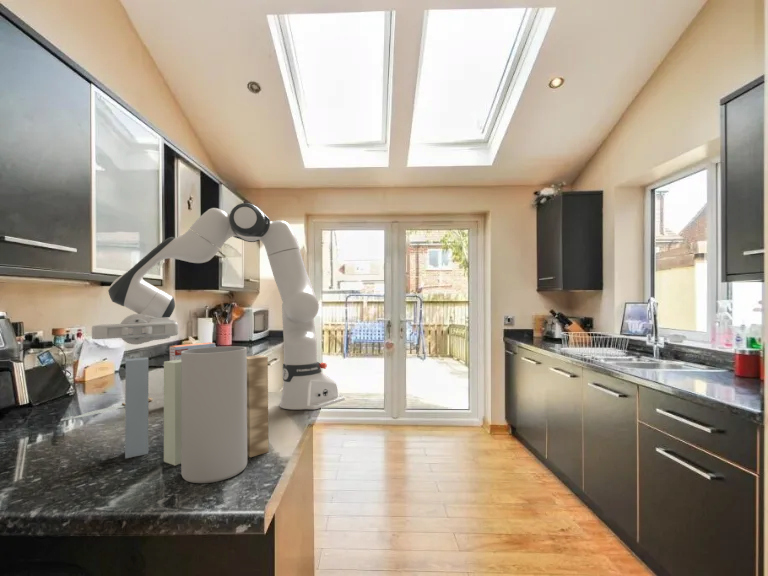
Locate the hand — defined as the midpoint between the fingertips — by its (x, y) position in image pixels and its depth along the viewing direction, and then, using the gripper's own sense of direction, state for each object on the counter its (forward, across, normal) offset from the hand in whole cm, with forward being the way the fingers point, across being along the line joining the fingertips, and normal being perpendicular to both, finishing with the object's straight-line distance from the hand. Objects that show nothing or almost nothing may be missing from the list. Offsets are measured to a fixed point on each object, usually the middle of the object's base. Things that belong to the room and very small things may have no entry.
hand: (137, 331), depth 103 cm
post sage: (+23, +8, +28) cm, 37 cm away
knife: (-40, -7, +29) cm, 50 cm away
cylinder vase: (+34, +14, +28) cm, 46 cm away
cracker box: (-34, +17, +28) cm, 47 cm away
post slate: (+12, 0, +28) cm, 31 cm away
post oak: (+28, +23, +28) cm, 46 cm away
